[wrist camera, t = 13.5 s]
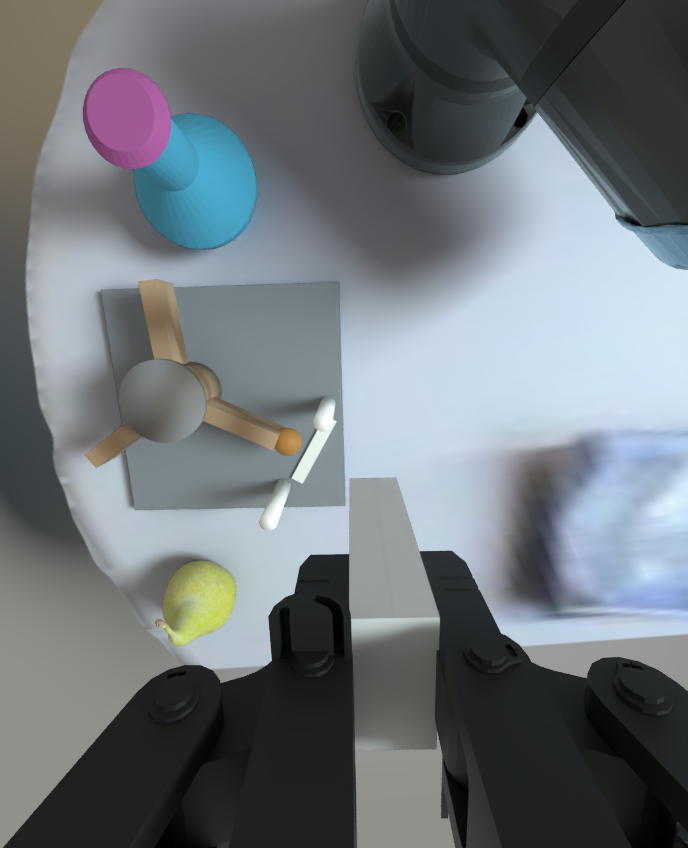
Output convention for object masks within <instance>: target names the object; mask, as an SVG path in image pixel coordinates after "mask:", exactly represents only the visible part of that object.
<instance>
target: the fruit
mask: <svg viewBox="0 0 688 848" xmlns="http://www.w3.org/2000/svg"><path fill="white" fill-rule="evenodd" d="M235 596H236V585H235V581H234V578H233V576H232V575H231V573H230V572H229V571H227V570H226V569H225V568H223V567H221V566H220V565H217V564H215V563H213V562H209V561H193V562H190V563H187V564H185V565H183V566H182V567H181V568H179V569H178V570H177V571H176V572H175V574H174V575H173V576H172V578H171V579H170V581H169V583H168V586H167V588H166V591H165V594H164V600H163V616H164V619H165V621H163V620H161V619H157V620H156V621H155V624H156V626H157V627H162V628H164V630H165V631H166V632H167V633H168V638H169V641H170V642H171V643H172V644H174V645H176V646H183V645H186V644H188V643H190V642H191V641H192V640H193V639H195V638H197V637H200V636H203V635H206V634H209V633H211V632H213V631H215V630H217V629H218V628H220V627H221V626H222V625H224V623H225V622H226V621H227V620H228V618H229V616H230V614H231V611H232V608H233V605H234V601H235Z"/></svg>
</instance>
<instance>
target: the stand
mask: <svg viewBox="0 0 688 848" xmlns="http://www.w3.org/2000/svg"><path fill="white" fill-rule="evenodd" d="M174 291H175V297H176V302H177V307H178V312H179V317H180V323H181V328H182V333H183V338H184V343H185V349H186V354H187V359H188V362H197V363H201V364H204V365H206V366H207V367H209V368H210V369H211V370H213V372H214V373H215V374H216V375H217V377H218V379H219V381H220V384H221V389H222V394H221V400H224V401H226V402H228V403H231V404H233V405H235V406H238V407H240V408H242V409H245V410H247V411H249V412H252V413H254V414H256V415H259V416H261V417H263V418H266V419H268V420H271V421H273V422H275V423H278V424H280V425H282V426H285V427H284V428H293V429H295V430H296V431H298V433H299V434H300V436H301V438H302V445H301V448H300V449H299V451H298V452H297V453H295V454H293V455H290V456H285V455H282V454H280V453H279V452H277V450H276V449H275V448H274V449H273V450H271V449H269V448H266V447H264V446H261V445H259V444H257V443H254V442H252V441H250V440H247V439H245V438H242V437H240V436H238V435H235V434H233V433H231V432H228V431H226V430H223V429H221V428H219V427H216V426H214V425H212V424H209V423H207V422H204V421H203V422H202V423H201V425H200V426H199V428H198V429H197V430H196V431H195V432H193V433H192V434H191V435H189V436H188V437H186V438H184V439H182V440H180V441H177V442H173V443H158V442H153V441H151V440H148V439H146V438H144V437H142V438H140V439H139V440H138V441H136V442H135V443H134V444H133V445H131V446H130V447H129V448H127V449H126V456H127V462H128V469H129V475H130V482H131V488H132V495H133V501H134V508H135V510H171V509H219V508H265V510H264V512H263V514H262V516H261V518H260V521H259V524H260V526H261V528H262V529H264V530H266V531H271V530H273V529H275V528H276V526H277V523H278V521H279V518H280V515H281V513H282V510H283V507H315V506H345V470H344V436H343V403H342V370H341V336H340V303H339V282H329V283H297V284H266V285H234V286H203V287H174ZM101 293H102V300H103V306H104V313H105V319H106V326H107V332H108V339H109V345H110V352H111V358H112V365H113V371H114V378H115V384H116V391H117V397H118V404H119V390H120V386H121V383H122V381H123V379H124V377H125V375H126V374H127V373H128V372H129V371H130V370H131V369H132V368H133V367H135V366H136V365H138V364H140V363H142V362H145V361H149V360H154V355H153V351H152V346H151V341H150V336H149V332H148V327H147V322H146V317H145V312H144V308H143V303H142V298H141V293H140V289H109V290H101ZM119 410H120V417H121V423H122V425H123V424H125V423H126V420H125V418H124V416H123V414H122V412H121V409H120V404H119Z"/></svg>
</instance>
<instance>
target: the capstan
mask: <svg viewBox="0 0 688 848" xmlns="http://www.w3.org/2000/svg"><path fill="white" fill-rule="evenodd" d="M138 284H139V289H140V293H141V298H142V303H143V308H144V312H145V317H146V322H147V327H148V332H149V336H150V341H151V346H152V351H153V355H154V360H149V361H145V362H142V363H140V364H138V365H136V366H135V367H133V368H132V369H131V370H130V371H129V372H128V373H127V374H126V375H125V377H124V379H123V381H122V383H121V386H120V390H119V404H120V409H121V412H122V414H123V416H124V418H125V420H126V423H125V424H123V425H122V426H121V427H120V428H118V429H117V430H116V431H114V432H113V433H112V434H111V435H109V436H108V437H107V438H106V439H104V440H103V441H102V442H100V443H99V444H98V445H97V446H95V447H94V448H93V449H92V450H90V451H89V452H88V453H86V454H85V456H86V457H87V459H88V460H89V461H90V462H91V463H92V464H93V465H94V466H95V467H96V468H97V467H99V466H101V465H103V464H105V463H106V462H108V461H110V460H112V459H114V458H116V457H117V456H118V455H120V454H121V453H122V452H123V451H125V450H126V449H127V448H129V447H130V446H131V445H133V444H134V443H135V442H136V441H138V440H139V439H140V438H142V437H144V438H146V439H148V440H151V441H153V442H158V443H173V442H177V441H180V440H182V439H184V438H186V437H188V436H189V435H191V434H192V433H193V432H195V431H196V430H197V429H198V428H199V426H200V425H201V423H202V422H203V421H204V422H207V423H209V424H212V425H214V426H216V427H219V428H221V429H223V430H226V431H228V432H231V433H233V434H235V435H238V436H240V437H242V438H245V439H247V440H250V441H252V442H254V443H257V444H259V445H261V446H264V447H266V448H269V449H271V450H273V449H274V448H275V449H276V450H277V452H279V453H280V454H282V455H285V456H290V455H293V454H295V453H297V452H298V451H299V449H300V448H301V445H302V438H301V436H300V434H299V433H298V431H296V430H295V429H293V428H284V427H285V426H282V425H280V424H278V423H275V422H273V421H271V420H268V419H266V418H263V417H261V416H259V415H256V414H254V413H252V412H249V411H247V410H245V409H242V408H240V407H238V406H235V405H233V404H231V403H228V402H226V401H224V400H221V394H222V389H221V384H220V381H219V379H218V377H217V375H216V374H215V373H214V372H213V370H211V369H210V368H209V367H207V366H206V365H204V364H201V363H197V362H188V359H187V354H186V349H185V343H184V338H183V333H182V328H181V323H180V317H179V312H178V307H177V302H176V297H175V291H174V286H173V284H172V283H168V282H165V281H161V280H157V279H155V280H147V281H138Z"/></svg>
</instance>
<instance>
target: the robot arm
mask: <svg viewBox="0 0 688 848" xmlns="http://www.w3.org/2000/svg"><path fill="white" fill-rule="evenodd" d="M357 83H358V91H359V96H360V101H361V105H362V108H363V111H364V113H365V116H366V118H367V121H368V123H369V125H370V127H371V128H372V130H373V132H374V133H375V135H376V136H377V138H378V139H379V140H380V142H381V143H382V144H383V145H384V146H385V147H386V149H387V150H389V151H390V152H391V153H392V154H393V155H394V156H395V157H397V158H398V159H400V160H401V161H403V162H404V163H406V164H408V165H410V166H412V167H414V168H416V169H419V170H422V171H426V172H430V173H437V174H455V173H461V172H466V171H469V170H472V169H475V168H478V167H480V166H483V165H484V164H486V163H488V162H490V161H492V160H493V159H495V158H496V157H498V156H499V155H500V154H502V153H503V152H504V151H505V150H506V149H508V148H509V147H510V146H511V145H512V144H513V143H514V142H515V140H516V139H517V138H518V137H519V136H520V135H521V134H522V132H523V131H524V130H525V129H526V128H527V127H528V125H529V124H530V123H531V121H532V120H533V119H534V117H535V116H536V114H537V113H538V114H539V115H540V116H541V117H542V119H543V120H544V121H545V122H546V124H547V125H548V126H549V127H550V129H551V130H552V131H553V132H554V134H555V135H556V136H557V138H558V139H559V140H560V142H561V143H562V144H563V145H564V147H565V148H566V149H567V151H568V152H569V153H570V154H571V156H572V157H573V158H574V160H575V161H576V162H577V163H578V165H579V166H580V167H581V169H582V170H583V171H584V172H585V174H586V175H587V176H588V178H589V179H590V180H591V181H592V183H593V184H594V185H595V187H596V188H597V189H598V191H599V192H600V193H601V194H602V196H603V197H604V198H605V200H606V201H607V202H608V203H609V205H610V206H611V207H612V209H613V210H614V212H615V216H616V219H617V221H618V222H619V223H620V224H621V225H622V226H623V227H625V228H626V229H628V230H630V231H633V232H634V233H635V234H636V235H637V236H638V237H639V238H640V240H641V241H642V242H643V243H644V244H645V245H646V246H647V247H648V248H649V250H650V251H651V252H652V253H653V254H654V255H655V256H656V257H657V258H658V259H659V260H660V261H662V262H663V263H665V264H667V265H669V266H671V267H674V268H676V269H684V270H688V0H368V3H367V5H366V8H365V11H364V15H363V19H362V22H361V27H360V32H359V38H358V49H357ZM268 617H269V630H270V642H271V654H272V661H271V662H270V663H269V664H268V665H267V666H265V667H263V668H262V669H260V670H258V671H257V672H255V673H252V674H249V675H247V676H245V677H241V678H237V679H234V680H230V681H227V682H223V683H220V680H219V678H218V677H217V675H216V674H215V673H214V671H213V670H210V669H208V668H206V667H203V666H201V665H184V666H180V667H177V668H173V669H169V670H167V671H165V672H163V673H162V674H160V675H158V676H156V677H154V678H152V679H151V680H150V681H149V682H148V683H147V684H146V685H144V686H143V687H142V688H141V689H140V690H139V691H138V692H137V693H136V694H135V695H134V696H133V697H132V699H131V700H130V701H129V702H128V703H127V704H126V706H125V707H124V708H123V709H122V710H121V711H120V713H119V714H118V715H117V716H116V717H115V718H114V720H113V721H112V722H111V723H110V724H109V725H108V726H107V728H106V729H105V730H104V731H103V732H102V733H101V735H100V736H99V737H98V738H97V739H96V740H95V742H94V743H93V744H92V745H91V746H90V747H89V749H88V750H87V751H86V752H85V753H84V755H83V756H82V757H81V758H80V759H79V760H78V761H77V763H76V764H75V765H74V766H73V767H72V768H71V769H70V771H69V772H68V773H67V774H66V775H65V776H64V778H63V779H62V780H61V781H60V782H59V783H58V785H57V786H56V787H55V788H54V789H53V790H52V791H51V793H50V794H49V795H48V796H47V797H46V798H45V800H44V801H43V802H42V803H41V804H40V805H39V807H38V808H37V809H36V810H35V811H34V812H33V814H32V815H31V816H30V817H29V818H28V819H27V821H26V822H25V823H24V824H23V825H22V826H21V827H20V829H19V830H18V831H17V832H16V833H15V834H14V836H13V837H12V838H11V839H10V840H9V841H8V843H7V844H6V845H5V846H4V847H3V848H357V831H356V828H357V827H356V773H355V750H400V749H401V750H404V749H436V743H437V742H436V741H437V732H438V736H439V740H440V745H441V750H442V755H443V759H442V790H441V818H448V813H449V818H450V823H451V828H452V833H453V838H454V843H455V848H688V691H686V690H685V689H684V688H683V687H682V686H681V685H679V684H678V683H677V682H675V681H674V680H672V679H671V678H669V677H668V676H666V675H665V674H663V673H662V672H660V671H659V670H657V669H655V668H652V667H650V666H647V665H645V664H643V663H641V662H638V661H634V660H630V659H625V658H621V657H611V658H602V659H600V660H598V661H596V662H594V663H592V665H591V667H590V670H589V671H588V675H587V678H583V677H578V676H574V675H570V674H566V673H562V672H557V671H553V670H550V669H547V668H544V667H540V666H538V665H536V664H534V663H532V662H531V661H530V659H529V657H528V655H527V654H526V653H525V652H524V650H523V649H522V648H521V647H520V645H519V644H517V643H516V642H514V641H513V640H512V639H510V638H509V637H507V636H506V635H503V634H501V632H500V630H499V628H498V626H497V624H496V622H495V620H494V618H493V616H492V614H491V612H490V610H489V608H488V606H487V604H486V602H485V600H484V598H483V596H482V594H481V592H480V590H478V586H477V584H476V582H475V580H474V579H473V577H472V574H471V572H470V570H469V568H468V566H467V564H466V562H465V561H464V560H462V559H461V558H460V557H459V556H457V555H456V554H455V553H454V552H452V551H419V549H418V546H417V542H416V539H415V536H414V533H413V530H412V526H411V523H410V520H409V517H408V514H407V510H406V507H405V504H404V501H403V498H402V494H401V491H400V488H399V485H398V482H397V478H354V479H350V501H349V554H334V555H310V556H309V557H308V558H307V559H306V561H305V562H304V563H303V564H302V565H301V566H300V569H299V574H298V578H297V583H296V588H295V594H293V595H290V596H288V597H285V598H284V599H283V600H281V601H280V602H279V603H278V604H276V605H275V606H274V608H273V609H272V611H271V613H270V615H269V616H268Z"/></svg>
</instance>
